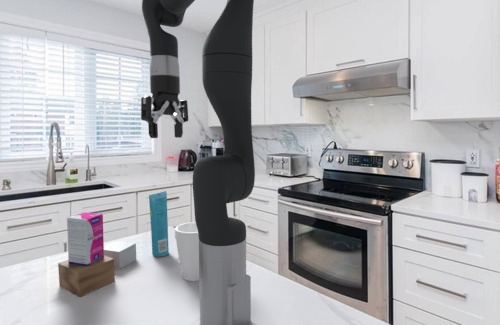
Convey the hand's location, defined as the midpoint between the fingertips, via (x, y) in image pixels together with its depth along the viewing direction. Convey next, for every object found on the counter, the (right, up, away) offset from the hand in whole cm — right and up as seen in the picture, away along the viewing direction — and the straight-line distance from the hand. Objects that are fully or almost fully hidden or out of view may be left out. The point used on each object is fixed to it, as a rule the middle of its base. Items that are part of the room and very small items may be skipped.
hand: (166, 137), depth 85 cm
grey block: (-16, -36, +7) cm, 40 cm away
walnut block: (-18, -37, -6) cm, 42 cm away
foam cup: (+8, -37, -1) cm, 37 cm away
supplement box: (-18, -31, -6) cm, 37 cm away
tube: (-6, -35, +13) cm, 38 cm away
